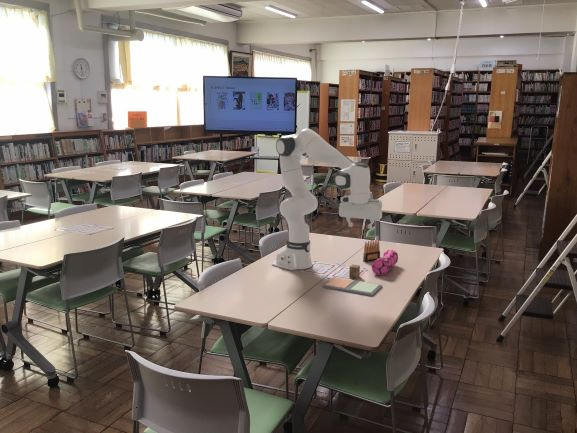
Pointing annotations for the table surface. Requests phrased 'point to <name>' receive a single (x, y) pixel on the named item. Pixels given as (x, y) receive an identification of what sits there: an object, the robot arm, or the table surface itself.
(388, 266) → the pencil case
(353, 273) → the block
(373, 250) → the ammunition clip
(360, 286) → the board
